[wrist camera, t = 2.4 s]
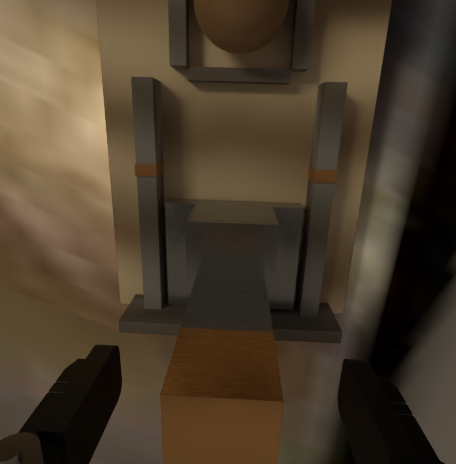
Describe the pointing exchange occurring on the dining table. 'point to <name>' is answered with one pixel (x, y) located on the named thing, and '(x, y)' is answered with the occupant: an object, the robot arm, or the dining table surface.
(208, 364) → the lever
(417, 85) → the dining table surface
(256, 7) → the walnut
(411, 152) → the dining table surface
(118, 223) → the base
